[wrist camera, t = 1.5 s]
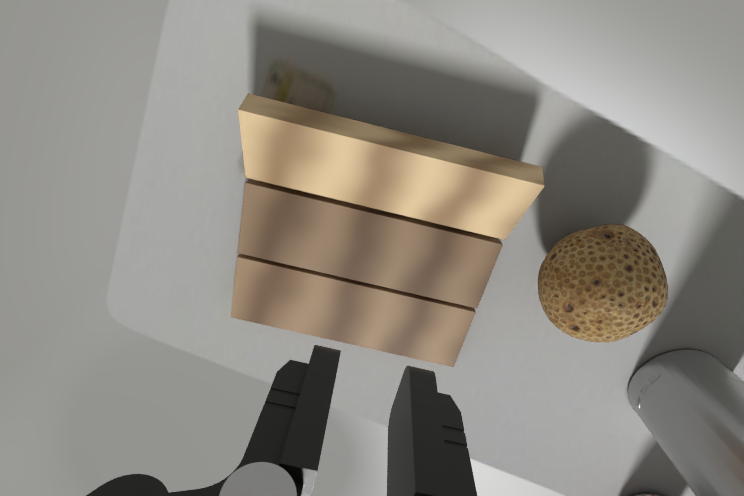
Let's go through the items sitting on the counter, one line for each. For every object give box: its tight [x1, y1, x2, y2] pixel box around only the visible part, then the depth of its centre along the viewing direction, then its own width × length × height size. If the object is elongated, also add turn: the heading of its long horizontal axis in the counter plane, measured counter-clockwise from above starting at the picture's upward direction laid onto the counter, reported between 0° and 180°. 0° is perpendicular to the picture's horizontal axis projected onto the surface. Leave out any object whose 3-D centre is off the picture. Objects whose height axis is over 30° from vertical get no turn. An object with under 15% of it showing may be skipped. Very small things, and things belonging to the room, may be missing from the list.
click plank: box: [238, 93, 545, 240], centre depth 31 cm, size 22×6×2 cm, turn 77°
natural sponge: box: [538, 224, 668, 342], centre depth 31 cm, size 9×9×10 cm
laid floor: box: [231, 179, 503, 367], centre depth 37 cm, size 22×13×2 cm, turn 77°
